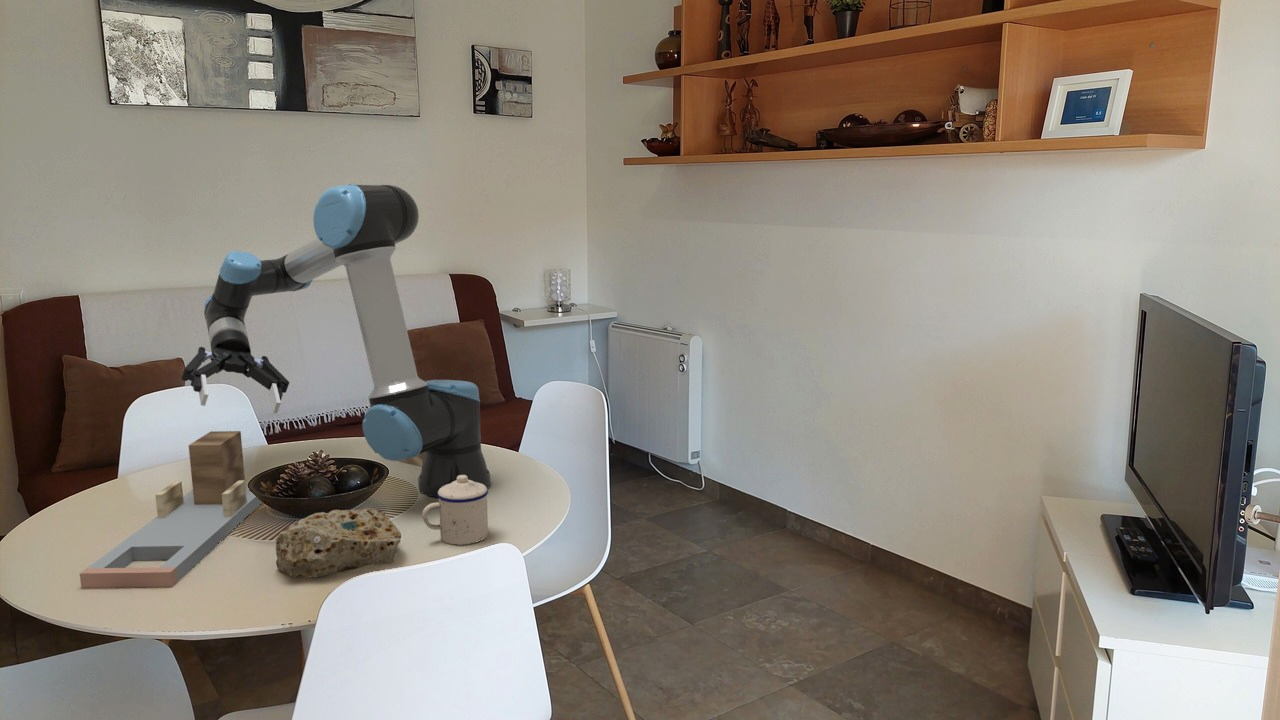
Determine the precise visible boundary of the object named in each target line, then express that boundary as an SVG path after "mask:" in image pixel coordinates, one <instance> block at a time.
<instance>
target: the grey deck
mask: <svg viewBox="0 0 1280 720" xmlns="http://www.w3.org/2000/svg"><path fill="white" fill-rule="evenodd" d="M248 486H249V485H245V487H246V499H247V503H245V504H244V505H243V506H242V507H241V508H240V509H239V510H238V511H236V512H235V513H234V514H233V515H232V516H231V517H224V513H223V504H211V505H194V496H193V489H192V490H191V491H189V492H188V493H186V495H183V501H184V503H183V504H182V505H181V506H179V507H178V508H177V509H175V510H174V511H173V512H171V513H170V514H169V515H167V516H166V517H165V518H158V515H156V517H154V518H153V519H151V521H148V522H147V523H146V524H145V525H143V526H141V527H140V529H138V530H136V531H135V532H134V533H133V534H131V535H130V536H128V537H127V538H125V540H123V541H122V542H121V543H119V544H118V545H116V546H115V547H113V548H112V549H110V551H108V552H107V553H105V554H104V555H103V556H101V557H100V558H98V559H97V560H95V562H92V564H91V565H89V566H88V567H87V568H85V569H84V570H82V571H81V572H79V578H80V579H79V580H80V581H79V582H80V587H81V589H98V588H99V589H103V588H104V589H105V588H107V589H111V588H114V589H115V588H117V589H118V588H119V589H121V588H164V587H165V588H166V587H167V588H168V587H169V588H172V587H174V586H175V585H176V584H178V582H179V581H180V580H181V579H183V577H185V575H186V574H188V572H190V571H191V570H192V569H193V568H194V567H195V566H196V565H198V564H199V562H200V561H202V560H203V559H204V558H205V557H206V556H207V555H209V553H211V551H212V550H214V549H215V548H216V547H217V546H218V545H219V544H220V543H221V542H222V541H223V540H225V538H226V536H227V535H228V534H229V533H230V532H231V531H232V530H233V529H234V528H235V527H236V526H237V525H238V524H239V523H240V522H241V521H243V520H244V519H245V518H246V517H247V516H248V515H249V514H250V513H251V512H253V511H254V510H255V509H256V508H257V507H258V508H260V506H261V505H262V504H263V503H262V502H261V501H260V500H259V499H258V498H257V497H256V496H255V495H254V494H253V493H252V492H250V491H249V488H248ZM260 504H261V505H260ZM258 508H257V509H258ZM257 509H256V510H257ZM256 510H255V511H256ZM255 511H254V512H255ZM254 512H253V513H254ZM251 514H252V513H251ZM251 514H250V515H251ZM250 515H249V516H250ZM249 516H248V517H249ZM248 517H247V518H248ZM247 518H246V519H247ZM246 519H245V520H246ZM245 520H244V521H245ZM244 521H243V522H244ZM238 526H239V525H238ZM238 526H237V527H238ZM237 527H236V528H237ZM236 528H235V529H236ZM235 529H234V530H235ZM234 530H233V531H234ZM233 531H232V532H233ZM232 532H231V533H232ZM231 533H230V534H231ZM230 534H229V535H230ZM229 535H228V536H229ZM228 536H227V537H228ZM224 537H225V538H224ZM222 539H223V540H222ZM221 540H222V541H221ZM220 541H221V542H220ZM219 542H220V543H219ZM218 543H219V544H218ZM217 544H218V545H217ZM216 545H217V546H216ZM215 546H216V547H215ZM214 547H215V548H214ZM213 548H214V549H213ZM133 561H165V562H164V563H163V564H162V565H161V566H159V567H157V566H156V567H127V565H129V564H130V563H133Z"/></svg>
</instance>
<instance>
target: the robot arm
mask: <svg viewBox="0 0 1280 720" xmlns="http://www.w3.org/2000/svg"><path fill="white" fill-rule="evenodd" d="M419 217H420V216H419V208H418V206H417V203H416V201H415V200H414V199H413V197H412V196H411V194H410V193H408V192H407V191H406V190H404V189H402V188H401V187H399V186H396V185H391V184H379V185H378V184H352V183H351V184H345V185H337V186H332V187H330V188H328V189H326V190H325V191H324V192H323V193H322V194H321V196H320V197H319V198H318V202H317V203H316V205H315V207H314V212H313V219H312V221H313V228H314V232H315V234H316V238H315V239H313V240H311V241H309V242H308V243H304V244H303V245H302V246H300V247H298V248H296V249H295V250H292V251H290V252H289V253H287V254H285V255H283V256H282V257H279V258H276V259H275V258H274V259H264V260H261V259H259V257H258V256H256V255H254V254H252V253H250V252H246V251H241V250H234V251H233V250H232V251H230V252H229V253H227V254H226V255H225V257H224V260H223V261H222V263H221V266H220V267H219V273H218V276H217V281H216V282H215V287H214V291H213V293H212V294H210V296H209V297H208V298H207V299H206V300H205V302H204V311H203V315H204V320H205V323H206V327H207V332H208V334H207V335H208V338H209V345H210V350H211V351H207V350H206V348H205V347H204V346H199V347H198V349H197V352H196V354H195V356H194V357H193V358H192V359H191V360H190V362H189V363H188V364H187V365H186V366H185V367H184V369H183V371H182V375H181V379H180V380H182V381H184V382H187V381H190V387H192V389H193V391H194V392H196V393H198V395H199V402H200V406H202V407H204V406H206V404H207V401H208V398H209V389H208V383H207V379H208V378H209V377H211V376H213V375H215V374H218V373H220V372H222V371H225V372H226V373H236V374H242V375H243V376H244V377H247V378H251V379H252V380H254V381H255V382H257V383H259V384H260V385H261V386H263V387H264V388H265V389H267V390H268V391H269V392H268V397H269V400H270V404H271V409H272V413H273V414H278V412H279V409H280V406H281V404H282V402H281V401H282V397H283V395H284V394H285V393H287V390H288V388H289V385H290V381H289V380H288V379H287V378H286V377H285V376H284V375H283V374H282V373H281V372H280V371H279V370H278V369H277V368H276V367H275V365H273V364H272V363H271V361H270V360H269V358H268V357H267V356H266V355H262V356H261V358H255V357H254V356H253V355H252V351H251V350H252V349H251V345H250V341H249V337H248V332H247V327H246V324H245V316H246V314H247V311H248V308H249V305H250V302H251V300H252V298H253V296H262V295H270V294H278V293H285V292H296V291H300V290H304V289H307V288H309V286H310V285H311V283H312V282H313V280H314V279H317V278H318V277H321V276H323V275H325V274H326V273H328V272H329V273H330V272H331V271H333V270H335V269H337V268H339V267H341V266H343V267H344V268H345V270H346V275H347V278H348V279H347V280H348V283H349V287H350V291H351V294H352V299H353V304H354V307H355V312H356V315H357V321H358V324H359V329H360V333H361V337H362V342H363V345H364V349H365V353H366V359H367V362H368V366H369V370H370V376H371V379H372V383H373V388H372V390H371V392H370V393H369V395H368V401H369V405H370V408H369V409H368V410H367V411H366V413H364V419H363V420H362V431H363V435H364V437H365V440H366V442H367V444H368V445H369V447H370V449H371V450H372V451H373V452H374V453H376V454H378V455H379V457H381V458H383V459H385V460H388V461H391V462H400V460H404V459H407V458H413V457H416V456H417V455H418V454H421V453H423V452H425V457H424V461H423V465H422V466H421V469H420V474H419V476H418V481H417V482H418V490H419V492H420V493H421V494H423V495H426V496H429V497H434V498H438V496H437V494H438V491H439V489H440V488H441V487H443V486H445V485H447V484H450V483H452V482H453V481H456V480H457V476H459V475H466V476H467V477H468V480H471V481H474V482H477V483H481V484H483V485H485V486H486V488H487V490H488V489H489V488H490V486H491V484H492V483H491V473H490V470H489V469H488V467H487V463H486V461H485V460H486V459H485V456H484V454H483V452H482V443H481V441H482V440H481V439H482V438H481V437H482V435H481V411H480V410H481V407H480V406H481V405H480V403H481V400H480V393H479V387H478V386H477V384H475V383H473V382H471V381H465V380H458V379H457V380H454V379H431V380H423V379H421V378H420V376H418V371H417V366H416V363H415V359H414V355H413V350H412V345H411V342H410V338H409V334H408V333H409V332H408V330H407V329H408V328H407V325H406V320H405V316H404V311H403V308H402V303H401V299H400V294H399V291H398V286H397V282H396V278H395V273H394V269H393V266H392V261H391V258H392V255H393V254H394V253H395V251H396V249H397V248H396V245H397V244H398V243H400V242H403V241H405V240H407V239H408V238H409V237H410V236H412V235H413V233H415V230H416V229H417V226H418V223H419ZM208 359H209V360H210V362H208V363H207V364H205V365H203V366H202V364H203V363H205V362H206V361H207V360H208Z"/></svg>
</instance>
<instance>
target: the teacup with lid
mask: <svg viewBox="0 0 1280 720" xmlns="http://www.w3.org/2000/svg"><path fill="white" fill-rule="evenodd" d="M488 494H489V490H488V489H487V488H486V486H485V485H483V484H481V483H477V482H474V481H471V480H468V477H467V476H466V475H459V476H457V480H456V481H453V482H452V483H450V484H447V485H445V486H443V487H441V488H440V489H439V491H438V494H437V496H438V497H437V498H438V502H437V501H436V502H432V503H429V504H428V505H426V506H425V507H424V508H423V511H422V520H423V522H424V524H425V525H426V526H427V527H428V528H429V529H431V530H435V531H436V530H437V531H438V530H439V532H440V533H439V534H440V535H439V536H440V539H441V541H442V542H444V543H446V544H448V545H449V544H450V545H453V544H457V545H456V546H464V545H463V544H467V545H471V544H470V543H473V544H475V543H474V542H476V541H479V540H481V539H483V538H485V537H486V536H487V537H488V535H489V521H488V519H489V517H488ZM435 508H438V510H439V524H432V523H430V522H429V520H428V513H429V512H430V510H433V509H435ZM487 537H486V538H487ZM486 538H485V539H486Z"/></svg>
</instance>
